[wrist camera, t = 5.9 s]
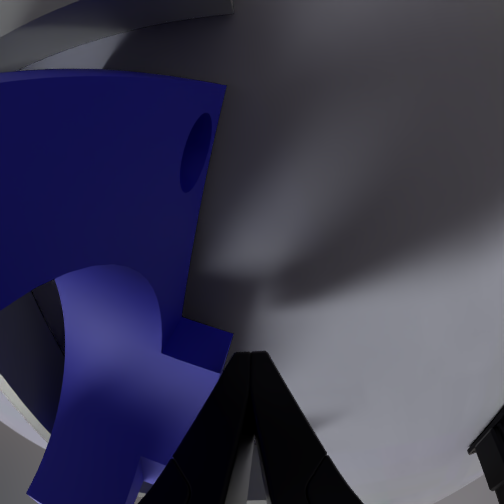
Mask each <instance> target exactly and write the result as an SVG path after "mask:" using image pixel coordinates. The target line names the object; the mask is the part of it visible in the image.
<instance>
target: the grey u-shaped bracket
mask: <svg viewBox="0 0 504 504" xmlns="http://www.w3.org/2000/svg"><path fill="white" fill-rule="evenodd" d="M226 14H234V11H233V0H0V73H3V72H13V71H17V70H19V69H21V68H23V67H26V66H28V65H30V64H32V63H35V62H37V61H39V60H42V59H44V58H47V57H49V56H52V55H54V54H57V53H59V52H62V51H65V50H68V49H70V48H73V47H76V46H79V45H82V44H85V43H88V42H91V41H94V40H98V39H101V38H104V37H108V36H111V35H115V34H119V33H122V32H126V31H130V30H135V29H139V28H143V27H148V26H152V25H157V24H162V23H168V22H173V21H179V20H185V19H192V18H199V17H207V16H216V15H226ZM64 363H65V357H64V355H63V353H62V351H61V350H60V348H59V346H58V344H57V343H56V341H55V339H54V337H53V335H52V333H51V331H50V329H49V328H48V326H47V324H46V322H45V320H44V318H43V316H42V314H41V312H40V310H39V308H38V305H37V303H36V301H35V299H34V297H33V295H32V292H31V291H30V292H28V293H27V294H25V295H24V296H22V297H20V298H19V299H17V300H16V301H14V302H13V303H11V304H10V305H8V306H7V307H5V308H4V309H2V310H1V311H0V390H1V391H2V392H3V394H4V395H5V396H6V397H7V399H8V400H9V401H10V402H11V403H12V405H13V406H14V407H15V408H16V409H17V411H18V412H19V413H20V414H21V415H22V416H23V417H24V419H25V420H26V421H27V422H28V423H29V424H30V425H31V426H32V427H33V428H34V429H35V430H36V432H37V433H38V434H39V435H40V436H41V437H42V438H43V439H44V440H45V441H46V442H47V443H48V442H49V439H50V436H51V433H52V429H53V426H54V422H55V418H56V414H57V410H58V405H59V401H60V395H61V389H62V383H63V374H64ZM152 486H153V484H150V483H148V482H145V481H143V484H142V486H141V488H140V491H139V493H138V495H137V496H140V497H144V496H145V494H146V493H147V492H148V491H149V490H150V488H151V487H152ZM247 504H267V501H266V496H265V490H264V485H263V479H262V474H261V468H260V462H259V457H258V451H257V445H253V454H252V463H251V471H250V480H249V488H248V496H247Z"/></svg>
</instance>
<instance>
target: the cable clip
mask: <svg viewBox="0 0 504 504" xmlns="http://www.w3.org/2000/svg"><path fill="white" fill-rule="evenodd" d="M226 87H227V86H226V85H221V84H216V83H211V82H205V81H200V80H194V79H188V78H181V77H175V76H168V75H160V74H152V73H143V72H133V71H122V70H108V69H43V70H26V71H13V72H3V73H0V311H1V310H2V309H4V308H5V307H7V306H8V305H10V304H11V303H13V302H14V301H16V300H17V299H19V298H20V297H22V296H24V295H25V294H27V293H28V292H30V291H31V290H33V289H34V288H36V287H38V286H40V285H43V284H45V283H47V282H49V281H51V280H53V279H55V282H56V285H57V288H58V292H59V296H60V300H61V304H62V310H63V317H64V327H65V363H64V374H63V383H62V389H61V395H60V401H59V405H58V410H57V414H56V418H55V422H54V426H53V429H52V433H51V436H50V439H49V442H48V445H47V448H46V451H45V453H44V456H43V459H42V461H41V464H40V466H39V468H38V471H37V473H36V475H35V477H34V479H33V481H32V483H31V485H30V487H29V489H28V491H27V493H26V494H27V495H29V496H30V497H31V498H32V499H34V500H35V501H36V502H37V503H39V504H134V502H135V500H136V498H137V495H138V493H139V491H140V488H141V486H142V484H143V481H145V482H148V483H150V484H154V483H155V481H156V480H157V478H158V477H159V476H160V474H161V473H162V471H163V470H164V468H165V466H166V465H167V463H168V462H169V460H170V459H173V458H172V456H173V454H174V452H175V451H176V449H177V448H178V446H179V444H180V443H181V441H182V439H183V438H184V436H185V435H186V433H187V431H188V430H189V428H190V426H191V425H192V423H193V422H194V420H195V418H196V417H197V415H198V413H199V412H200V410H201V408H202V407H203V405H204V403H205V402H206V400H207V398H208V397H209V395H210V393H211V392H212V390H213V388H214V387H215V385H216V383H217V382H218V380H219V378H220V376H221V375H222V371H223V368H224V365H225V361H226V358H227V355H228V351H229V348H230V344H231V341H232V338H233V333H229V332H226V331H223V330H220V329H217V328H214V327H211V326H208V325H205V324H202V323H199V322H196V321H193V320H190V319H187V318H184V317H182V311H183V304H184V297H185V291H186V284H187V278H188V272H189V266H190V260H191V254H192V248H193V243H194V237H195V232H196V226H197V221H198V215H199V210H200V205H201V200H202V195H203V190H204V185H205V180H206V175H207V170H208V165H209V161H210V156H211V151H212V147H213V142H214V138H215V133H216V129H217V124H218V120H219V116H220V111H221V107H222V103H223V99H224V95H225V91H226Z"/></svg>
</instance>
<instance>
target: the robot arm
mask: <svg viewBox="0 0 504 504" xmlns="http://www.w3.org/2000/svg"><path fill="white" fill-rule="evenodd" d="M254 436H255V439H256V445H257V451H258V457H259V462H260V468H261V474H262V479H263V485H264V490H265V496H266V501H267V504H364V503H363V502H362V501H361V500H360V499H359V498H358V496H357V495H356V494H355V493H354V491H353V490H352V489H351V488H350V486H349V485H348V484H347V482H346V481H345V480H344V478H343V477H342V475H341V474H340V472H339V471H338V469H337V468H336V466H335V465H334V463H333V461H332V460H331V458H330V457H329V456H328V455H327V452H326V450H325V449H324V447H323V445H322V444H321V442H320V441H319V439H318V437H317V436H316V434H315V432H314V431H313V429H312V427H311V426H310V424H309V422H308V421H307V419H306V417H305V416H304V414H303V412H302V411H301V409H300V407H299V406H298V404H297V402H296V400H295V399H294V397H293V395H292V394H291V392H290V390H289V389H288V387H287V385H286V383H285V382H284V380H283V378H282V377H281V375H280V373H279V371H278V370H277V368H276V366H275V364H274V363H273V361H272V359H271V357H270V356H269V354H268V353H267V352H266V351H253V352H236V353H234V354H233V356H232V358H231V359H230V361H229V363H228V365H227V366H226V368H225V370H224V371H223V373H222V375H221V376H220V378H219V380H218V382H217V383H216V385H215V387H214V388H213V390H212V392H211V393H210V395H209V397H208V398H207V400H206V402H205V403H204V405H203V407H202V408H201V410H200V412H199V413H198V415H197V417H196V418H195V420H194V422H193V423H192V425H191V426H190V428H189V430H188V431H187V433H186V435H185V436H184V438H183V439H182V441H181V443H180V444H179V446H178V448H177V449H176V451H175V452H174V454H173V456H172V458H173V459H170V460H169V462H168V463H167V465H166V466H165V468H164V470H163V471H162V473H161V474H160V476H159V477H158V478H157V480H156V481H155V483H154V484H153V486H152V487H151V488H150V490H149V491H148V492H147V493H146V494H145V496H144V497H143V498H142V499H141V501H140V502H139V503H138V504H247V496H248V488H249V480H250V471H251V463H252V454H253V445H254ZM467 451H468V454H469V455H471V454H474V453H477V455H478V458H479V461H480V463H481V466H482V469H483V472H484V474H485V477H486V480H487V483H488V486H489V489H490V490H491V491H494V490H495V492H496V495H497V498H498V502H499V504H504V408H503V409H502V410H501V412H500V413H499V414H498V415H497V417H496V418H495V419H494V420H493V421H492V423H491V424H490V425H489V426H488V427H487V429H486V430H485V431H484V432H483V433H482V434H481V436H480V437H479V438H478V439H477V440H476V441H475V442H474V443H473V444H472V445H471V447H470V448H469V449H468V450H467ZM326 455H327V456H326Z"/></svg>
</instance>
